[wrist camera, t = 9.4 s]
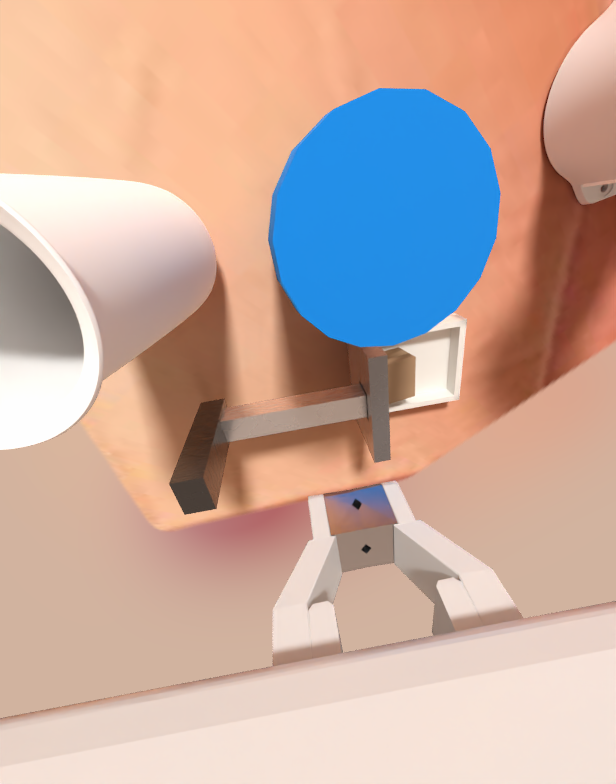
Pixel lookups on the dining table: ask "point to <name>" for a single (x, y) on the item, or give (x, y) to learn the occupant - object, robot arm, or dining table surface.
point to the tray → (435, 363)
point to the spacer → (400, 374)
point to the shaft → (250, 435)
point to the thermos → (384, 217)
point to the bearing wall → (372, 397)
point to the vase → (87, 290)
